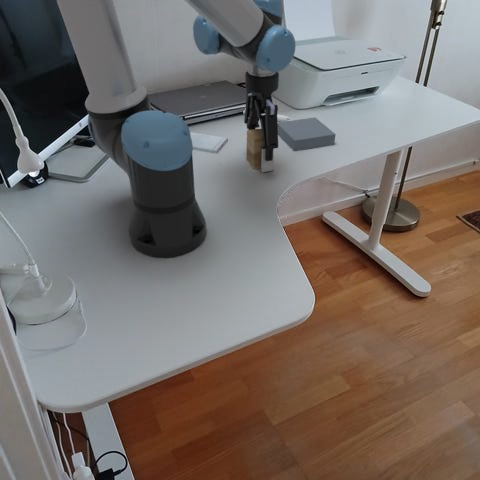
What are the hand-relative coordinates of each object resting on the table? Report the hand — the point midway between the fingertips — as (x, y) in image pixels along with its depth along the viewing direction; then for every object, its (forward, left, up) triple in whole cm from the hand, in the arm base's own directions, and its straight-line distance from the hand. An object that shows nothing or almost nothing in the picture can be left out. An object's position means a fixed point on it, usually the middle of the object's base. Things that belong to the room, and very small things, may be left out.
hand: (259, 161), depth 114 cm
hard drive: (-11, +15, -1) cm, 19 cm away
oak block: (0, 0, 0) cm, 0 cm away
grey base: (+17, +9, 0) cm, 19 cm away
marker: (+12, +26, -1) cm, 29 cm away
